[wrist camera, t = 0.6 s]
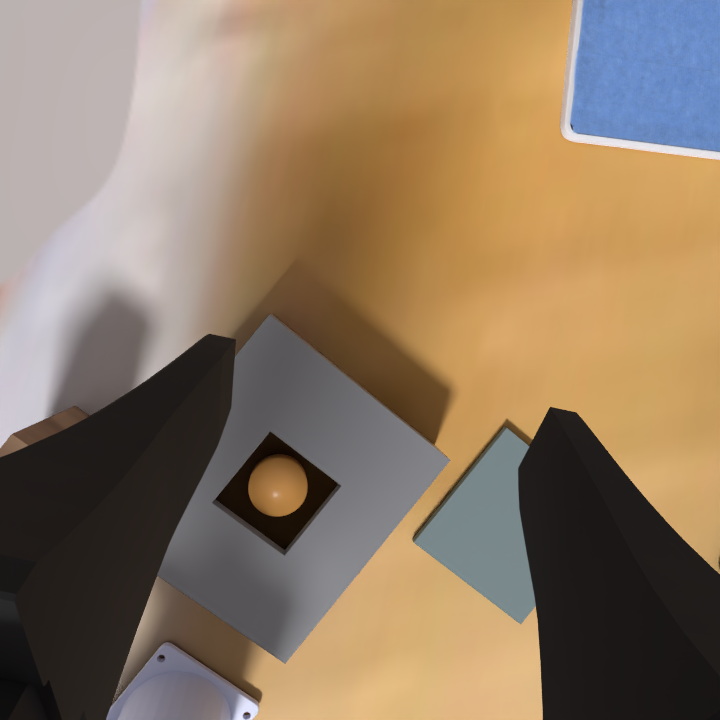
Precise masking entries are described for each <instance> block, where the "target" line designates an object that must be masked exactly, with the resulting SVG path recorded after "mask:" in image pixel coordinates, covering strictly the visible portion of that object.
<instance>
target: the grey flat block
mask: <svg viewBox="0 0 720 720" xmlns="http://www.w3.org/2000/svg"><path fill="white" fill-rule="evenodd" d="M270 431H271V432H272V433H273V434H274V435H276V436H277V437H278V438H280V439H281V440H282V441H284V442H285V443H286V444H287V445H289V446H290V447H291V448H293V449H294V450H295V451H297V452H298V453H299V454H301V455H302V456H303V457H304V458H306V459H307V460H308V461H310V462H311V463H312V464H314V465H315V466H316V467H317V468H319V469H320V470H321V471H323V472H324V473H325V474H327V475H328V476H329V477H331V478H332V479H333V480H334V481H336V482H337V483H338V485H337V487H336V488H335V489H334V490H333V491H332V493H331V494H330V495H329V496H328V498H327V499H326V500H325V501H324V503H323V504H322V505H321V506H320V507H319V509H318V510H317V511H316V512H315V514H314V515H313V516H312V517H311V519H310V520H309V521H308V522H307V523H306V525H305V526H304V527H303V528H302V530H301V531H300V532H299V533H298V535H297V536H296V537H295V538H294V539H293V541H292V542H291V543H290V544H289V546H288V547H287V548H286V549H285V550H284V549H282V548H281V547H280V546H278V545H277V544H276V543H274V542H273V541H271V540H270V539H269V538H267V537H266V536H265V535H263V534H262V533H261V532H259V531H258V530H256V529H255V528H254V527H252V526H251V525H250V524H248V523H247V522H245V521H244V520H243V519H241V518H240V517H239V516H237V515H236V514H234V513H233V512H232V511H230V510H229V509H228V508H226V507H225V506H224V505H222V504H221V503H219V502H218V501H217V500H215V499H216V497H217V496H218V495H219V494H220V492H221V491H222V490H223V489H224V488H225V486H226V485H227V484H228V483H229V481H230V480H231V479H232V478H233V477H234V475H235V474H236V473H237V472H238V470H239V469H240V468H241V467H242V465H243V464H244V463H245V462H246V461H247V459H248V458H249V457H250V456H251V454H252V453H253V452H254V451H255V449H256V448H257V447H258V446H259V445H260V443H261V442H262V441H263V440H264V438H265V437H266V436H267V435H268V434H269V432H270ZM449 461H450V459H449V458H448V457H447V456H446V455H445V454H443V453H442V452H441V451H440V450H439V449H438V448H437V447H436V446H435V445H434V444H433V443H431V442H430V441H429V440H428V439H427V438H425V437H424V436H423V435H422V434H420V433H419V432H418V431H417V430H415V429H414V428H413V427H412V426H410V425H409V424H408V423H407V422H405V421H404V420H403V419H402V418H400V417H399V416H398V415H397V414H396V413H394V412H393V411H392V410H391V409H389V408H388V407H387V406H386V405H384V404H383V403H382V402H381V401H379V400H378V399H377V398H376V397H374V396H373V395H372V394H371V393H370V392H368V391H367V390H366V389H365V388H363V387H362V386H361V385H360V384H358V383H357V382H356V381H355V380H353V379H352V378H351V377H350V376H348V375H347V374H346V373H345V372H343V371H342V370H341V369H340V368H339V367H337V366H336V365H335V364H334V363H332V362H331V361H330V360H329V359H327V358H326V357H325V356H324V355H322V354H321V353H320V352H319V351H317V350H316V349H315V348H314V347H312V346H311V345H310V344H309V343H308V342H306V341H305V340H304V339H303V338H301V337H300V336H299V335H298V334H296V333H295V332H294V331H293V330H291V329H290V328H289V327H288V326H286V325H285V324H284V323H283V322H281V321H280V320H279V319H278V318H277V317H275V316H274V315H273V314H269V316H268V317H267V318H266V319H265V320H264V322H263V323H262V324H261V325H260V327H259V328H258V329H257V330H256V331H255V333H254V334H253V335H252V336H251V338H250V339H249V340H248V341H247V342H246V344H245V345H244V346H243V347H242V349H241V350H240V351H239V352H238V354H237V355H236V356H235V360H234V375H233V390H232V405H231V410H230V413H229V416H228V419H227V422H226V425H225V427H224V430H223V433H222V436H221V439H220V441H219V444H218V446H217V448H216V451H215V453H214V455H213V457H212V459H211V461H210V463H209V465H208V467H207V469H206V471H205V473H204V475H203V477H202V479H201V481H200V482H199V484H198V486H197V488H196V490H195V492H194V494H193V496H192V498H191V500H190V502H189V504H188V506H187V508H186V510H185V512H184V514H183V516H182V518H181V520H180V522H179V524H178V526H177V528H176V530H175V532H174V535H173V537H172V539H171V541H170V544H169V546H168V548H167V551H166V554H165V556H164V559H163V561H162V564H161V567H160V569H159V572H158V574H157V576H159V577H160V578H162V579H163V580H165V581H166V582H168V583H169V584H170V585H172V586H173V587H175V588H176V589H178V590H179V591H181V592H182V593H183V594H185V595H186V596H188V597H189V598H191V599H192V600H194V601H195V602H197V603H198V604H199V605H201V606H202V607H204V608H205V609H207V610H208V611H210V612H211V613H212V614H214V615H215V616H217V617H218V618H220V619H221V620H223V621H224V622H225V623H227V624H228V625H230V626H231V627H233V628H234V629H236V630H237V631H238V632H240V633H241V634H243V635H244V636H246V637H247V638H249V639H250V640H251V641H253V642H254V643H256V644H257V645H259V646H260V647H262V648H263V649H264V650H266V651H267V652H269V653H270V654H272V655H273V656H275V657H276V658H277V659H279V660H280V661H282V662H283V663H286V662H287V661H288V660H289V658H290V657H291V656H292V655H293V653H294V652H295V651H296V650H297V649H298V647H299V646H300V645H301V644H302V642H303V641H304V640H305V639H306V637H307V636H308V635H309V634H310V632H311V631H312V630H313V629H314V628H315V626H316V625H317V624H318V623H319V621H320V620H321V619H322V618H323V616H324V615H325V614H326V613H327V612H328V610H329V609H330V608H331V607H332V605H333V604H334V603H335V602H336V600H337V599H338V598H339V597H340V596H341V594H342V593H343V592H344V591H345V589H346V588H347V587H348V586H349V584H350V583H351V582H352V581H353V580H354V578H355V577H356V576H357V575H358V573H359V572H360V571H361V570H362V568H363V567H364V566H365V565H366V564H367V562H368V561H369V560H370V559H371V557H372V556H373V555H374V554H375V552H376V551H377V550H378V549H379V548H380V546H381V545H382V544H383V543H384V541H385V540H386V539H387V538H388V536H389V535H390V534H391V533H392V531H393V530H394V529H395V528H396V527H397V525H398V524H399V523H400V522H401V520H402V519H403V518H404V517H405V515H406V514H407V513H408V512H409V511H410V509H411V508H412V507H413V506H414V504H415V503H416V502H417V501H418V499H419V498H420V497H421V496H422V495H423V493H424V492H425V491H426V490H427V488H428V487H429V486H430V485H431V483H432V482H433V481H434V480H435V479H436V477H437V476H438V475H439V474H440V472H441V471H442V470H443V469H444V467H445V466H446V465H447V464H448V463H449Z"/></svg>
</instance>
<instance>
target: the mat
mask: <svg viewBox="0 0 720 720" xmlns="http://www.w3.org/2000/svg"><path fill="white" fill-rule="evenodd" d="M528 448H529V446H528V445H527V444H526V443H524V442H523V441H522V440H521V439H520V438H519V437H517V436H516V435H515V434H514V433H513V432H511V431H510V430H509V429H508V428H506V427H505V426H504V427H503V428H502V430H501V431H500V432H499V433H498V435H497V436H496V437H495V438H494V439H493V441H492V442H491V443H490V444H489V446H488V447H487V448H486V449H485V451H484V452H483V453H482V454H481V455H480V457H479V458H478V459H477V460H476V462H475V463H474V464H473V465H472V467H471V468H470V469H469V470H468V471H467V473H466V474H465V475H464V476H463V478H462V479H461V480H460V481H459V483H458V484H457V485H456V486H455V487H454V489H453V490H452V491H451V492H450V494H449V495H448V496H447V497H446V499H445V500H444V501H443V502H442V503H441V505H440V506H439V507H438V508H437V510H436V511H435V512H434V513H433V515H432V516H431V517H430V518H429V520H428V521H427V522H426V523H425V524H424V526H423V527H422V528H421V529H420V531H419V532H418V533H417V534H416V536H415V537H414V538H413V539H412V540H413V542H414V543H415V544H417V545H418V546H419V547H421V548H422V549H423V550H424V551H426V552H427V553H428V554H430V555H431V556H432V557H434V558H435V559H436V560H437V561H439V562H440V563H441V564H443V565H444V566H445V567H447V568H448V569H449V570H451V571H452V572H453V573H454V574H456V575H457V576H458V577H460V578H461V579H462V580H464V581H465V582H466V583H467V584H469V585H470V586H471V587H473V588H474V589H475V590H477V591H478V592H479V593H481V594H482V595H483V596H484V597H486V598H487V599H488V600H490V601H491V602H492V603H494V604H495V605H496V606H497V607H499V608H500V609H501V610H503V611H504V612H505V613H507V614H508V615H509V616H511V617H512V618H513V619H514V620H516V621H517V622H518V623H520V624H521V623H522V622H523V621H524V620H525V618H526V617H527V616H528V615H529V614H530V612H531V611H532V610H533V609H534V607H535V606H536V603H535V597H534V591H533V585H532V580H531V574H530V569H529V563H528V557H527V552H526V546H525V540H524V535H523V529H522V523H521V516H520V510H519V493H518V467H519V465H520V463H521V462H522V460H523V458H524V456H525V454H526V452H527V450H528Z"/></svg>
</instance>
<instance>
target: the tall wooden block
mask: <svg viewBox="0 0 720 720" xmlns="http://www.w3.org/2000/svg"><path fill="white" fill-rule="evenodd" d="M87 417H89V415H87V414H86V413H85V412H83V411H82V410H80V409H79V408H78V407H76V406H74V407H72V408H69V409H67V410H65V411H63V412H61V413H58V414H56V415H54V416H52V417H49V418H47V419H45V420H43V421H40V422H38V423H36V424H34V425H31V426H29V427H27V428H25V429H22V430H20V431H18V432H16V433H13V434H12V435H11V436H10V437H9V438H8V440H7V441H6V442H5V443H4V444H3V446H2V447H1V448H0V457H2V456H5V455H8V454H10V453H13V452H15V451H17V450H20V449H22V448H24V447H26V446H29V445H31V444H33V443H35V442H38V441H40V440H42V439H45V438H47V437H49V436H51V435H54V434H56V433H58V432H60V431H62V430H64V429H66V428H68V427H70V426H72V425H74V424H76V423H78V422H80V421H82V420H83V419H85V418H87Z"/></svg>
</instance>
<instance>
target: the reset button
mask: <svg viewBox="0 0 720 720" xmlns="http://www.w3.org/2000/svg"><path fill="white" fill-rule="evenodd" d="M248 492H249V497H250V499H251V501H252V503H253V505H254V506H255V507H256V508H257V509H258V510H259V511H261V512H262V513H264V514H266V515H270V516H285V515H288V514H290V513H292V512H294V511H295V510H297V509H298V508H299V507H300V506H301V504H302V503H303V501H304V500H305V497H306V494H307V476H306V472H305V470H304V468H303V466H302V465H301V464H300V463H299V462H298V461H297V460H296V459H294V458H293V457H291V456H288V455H284V454H275V455H270V456H267V457H265V458H264V459H262V460H261V461H259V462H258V463H257V464H256V466H255V467H254V469H253V471H252V473H251V476H250V480H249V485H248Z"/></svg>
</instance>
